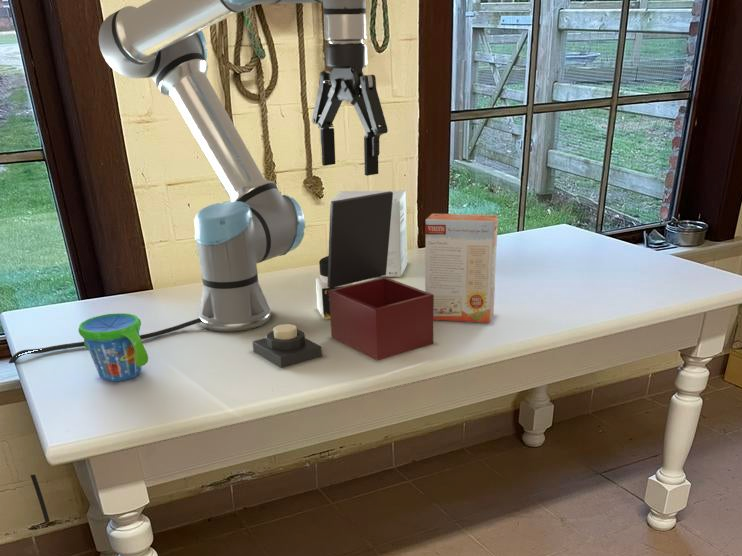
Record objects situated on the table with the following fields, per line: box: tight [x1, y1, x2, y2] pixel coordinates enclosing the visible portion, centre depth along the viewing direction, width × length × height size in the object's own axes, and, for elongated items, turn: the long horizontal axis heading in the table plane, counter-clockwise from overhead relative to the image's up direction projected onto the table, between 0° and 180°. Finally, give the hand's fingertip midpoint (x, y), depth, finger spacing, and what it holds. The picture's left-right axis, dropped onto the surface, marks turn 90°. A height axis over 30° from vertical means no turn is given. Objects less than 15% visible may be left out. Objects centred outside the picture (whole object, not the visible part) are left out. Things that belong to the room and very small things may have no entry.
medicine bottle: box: [315, 255, 355, 320], centre depth 170 cm, size 7×7×12 cm
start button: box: [272, 323, 298, 340], centre depth 151 cm, size 4×4×2 cm
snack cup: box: [78, 312, 149, 383], centre depth 144 cm, size 16×10×10 cm
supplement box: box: [329, 189, 408, 278], centre depth 196 cm, size 17×13×18 cm
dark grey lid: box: [328, 190, 393, 288], centre depth 153 cm, size 17×14×1 cm
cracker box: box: [424, 213, 499, 324], centre depth 163 cm, size 14×6×21 cm, turn 74°
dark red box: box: [329, 276, 435, 361], centre depth 156 cm, size 16×14×10 cm
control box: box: [251, 328, 323, 369], centre depth 152 cm, size 11×9×4 cm
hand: (349, 169), depth 153 cm, fingers open, 13 cm apart
